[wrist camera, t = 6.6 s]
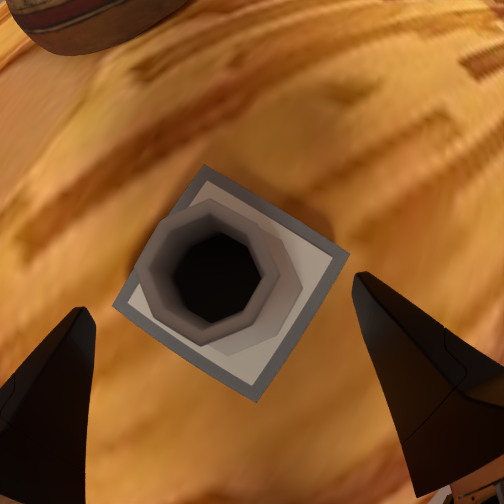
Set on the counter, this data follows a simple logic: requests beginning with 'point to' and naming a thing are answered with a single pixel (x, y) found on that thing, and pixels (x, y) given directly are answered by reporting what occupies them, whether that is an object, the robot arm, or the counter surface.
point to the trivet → (313, 294)
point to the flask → (217, 278)
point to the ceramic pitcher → (87, 22)
